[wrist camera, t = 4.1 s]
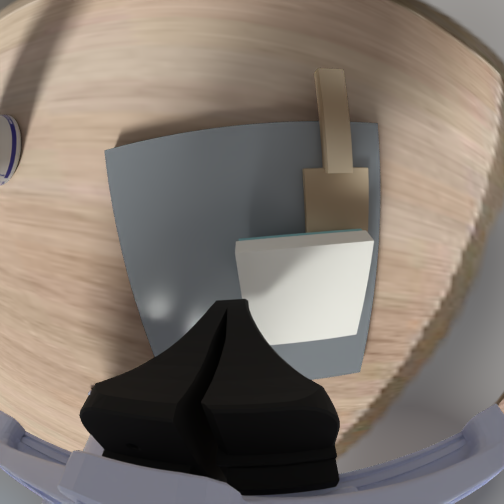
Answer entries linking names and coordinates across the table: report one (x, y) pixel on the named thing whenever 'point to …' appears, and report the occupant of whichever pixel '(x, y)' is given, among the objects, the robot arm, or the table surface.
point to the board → (225, 223)
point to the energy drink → (9, 147)
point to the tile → (305, 283)
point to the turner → (335, 164)
